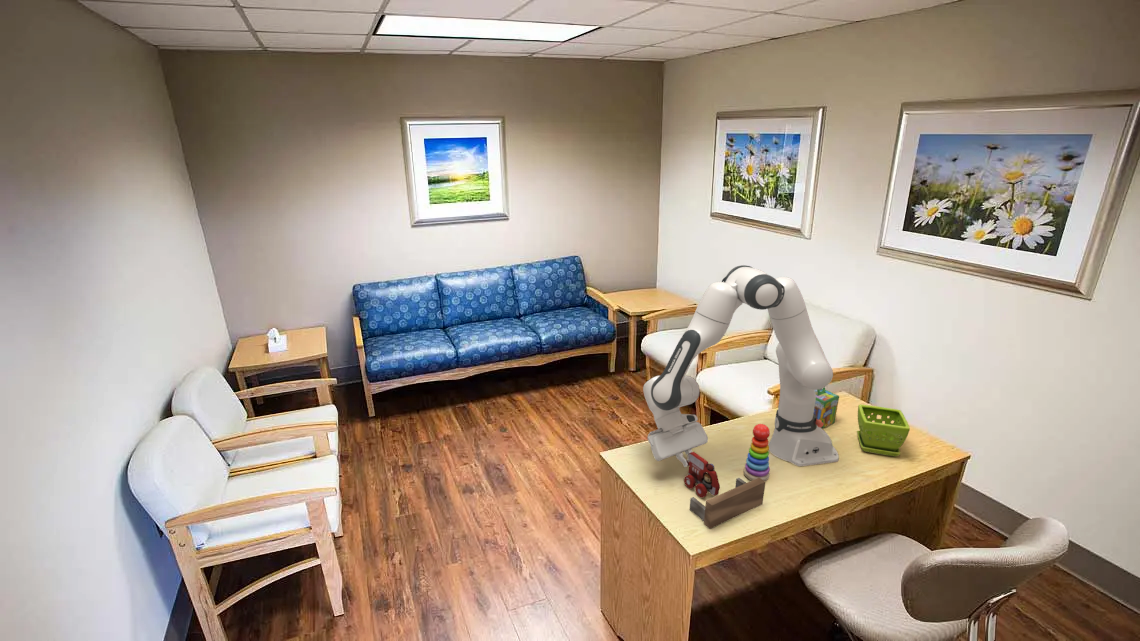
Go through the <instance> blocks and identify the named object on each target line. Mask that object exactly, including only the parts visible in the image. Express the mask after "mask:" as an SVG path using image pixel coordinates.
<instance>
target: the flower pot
mask: <svg viewBox="0 0 1140 641" xmlns="http://www.w3.org/2000/svg"><path fill="white" fill-rule="evenodd" d="M878 416H880V417H881V418H878ZM883 422H884V423H883ZM857 423H858V424H857V425H858V429H859V430H857V431H856V433H857V438H858V442H859V445H860V448H861V450H862V451H863V452H866V453H872V454H878V455H882V456H883V455H884V456H888V457H897V456H901V451H900V448H901V446H903V444H904V443H905V441H906V440H907V438H908V435H909V433H910V429H911V428H910V425H909V422H908V421H907V419H906V416H905V415H904V413H903V412H902V410H901V409H897V408H890V407H885V406H877V405H876V406H875V405H870V404H869V405H868V404H860V403H859V404H858V406H857Z"/></svg>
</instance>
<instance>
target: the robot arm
mask: <svg viewBox="0 0 1140 641" xmlns="http://www.w3.org/2000/svg"><path fill="white" fill-rule="evenodd" d="M699 300H700V301H698V304H697V306H696V309H695V312H694V313H693V316H692V317H691V320H690V322H689V324H688V326H687V328H686V330H685V331H684V333H683V334H682V335H681V338H680V339H679V341H678V343H676V344H677V345H676V346H675V348H674V349H673V352H672V354H671V356H670V358H669V360H668V362H667V363H666V366H665V368H664V370H663V371H662V373H661V374H660V375H656V376H655V375H654V376H653V377H650V378H649V379H648V380H647V381H646V382H645V383H644V384H643V386H642V387H643V388H642V389H643V390H642V392H643V395H644V396H643V397H644V398H645V401H646V403H647V407H648V409H649V411H651V412H652V415H653V418H654V422H655V425H656V427H657V429H655V430H652V431H649V433H648V435H647V441H648V443H649V445H650V450H651V452H652V455H653V458H654V460H656V462H660V461H662V460H663V461H664V460H666V459H668V458H670V457H674V456H675V457H676V459H677V460H679V462H681V463H682V465H683V468H687V467H689V462H690V461H689V454H690V453H691V452H693V449H695V448H698V447H700V446H703V445H706V444H707V443H708V441H709V436H708V434H707V432H706V431H705V429H704V427H703V425H702V424H701V423H700V422H698V420H699V418H698V416H697V415H696V414H689V413H682V412H681V409H680V408H681V407H685V406H689V405H692V404H693V403H695V402H696V401H697V400H698V399H699V397H700V390H701V389H700V386H699V383H698V381H697V380H696V379H695V378H694V377H692V376H691V375H690V376H689V375H687V372H688V370H689V369H690V367H691V365H692V363H693V361H694V360H695V358H696V357H697V356H698V355H699V354H700V353H702V352H703V351H705V350H706V349H708V348H711V347H712V346H715V345H716V344H718V343H719V342H721V340H722V339H723V337H724V336H725V335H726V333H727V331H728V329H729V326H730V324H731V323H732V322H731V321H732V319H733V316H734V313H735V312H736V311H737V309H738V308H739V307H741V306H742V305H743V304H744V305H747V306H749V307H751V308H752V309H754V310H755V309H756V310H760V311H761V310H767V313H768V316H769V319H770V322H771V325H772V329H773V332H774V334H775V338H776V339H777V341H778V344H777V346H776V349H775V354H776V358H777V361H778V363H777V364H778V375H779V377H778V378H779V385H780V386H779V387H780V388H779V399H778V407H777V409H776V412H775V418H774V430H773V433H772V435H771V438H770V440H769V443H768V446H769V450H768V451H769V453H771V454H772V455H774V456H775V457H777V458H778V459H781V460H783V461H787V462H789V463H791V464H793V465H795V466H797V467H806V466H815V465H822V464H830V463H836V462H837V463H838V462H839V459H840V455H839V453H838V451H837V449H836V448H835V447H834V445H833V442H832V439H831V437H830V436H829V434H828V433H827V431H826V430H824V428H820V427H822V426H823V425H824V424H823V422H822V421H821V420H818V418H817V417H816V416H815V415H814V414H813V413H814V407H815V401H816V394H815V391H814V390H818V389H823V388H824V387H825V388H826V387H827V386H828V385H830V383H831V382H832V380H833V377H834V371H833V368H832V367H831V365H830V363H829V361H828V359H827V357H826V355H825V353H824V350H823V347H822V346H821V343H820V342H819V340H818V337H817V335H816V333H815V331H814V329H813V327H812V323H811V320H810V315H809V312H808V310H807V306H806V302H805V300H804V297H803V295H802V293H801V290H800V288H799V286H798V284H797V282H796V281H795V280H794V279H792V278H790V277H787V276H779V277H774V276H771V275H769V274H768V273H766V272H765V271H763V270H761V269H758V268H755V267H752V266H750V265H744V264H743V265H738V266H735V267H733V268H732V269H730V270H729V272H728V273H727V274H726V276H725V277H724V278H723V279H722V280H721V281H715V282H712V283H710V284H709V285H708V287H707V289H706V290H705V291H704V293H703V294H702V296H701V299H699ZM684 454H685V455H687V459H686V458H685V457H684Z"/></svg>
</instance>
